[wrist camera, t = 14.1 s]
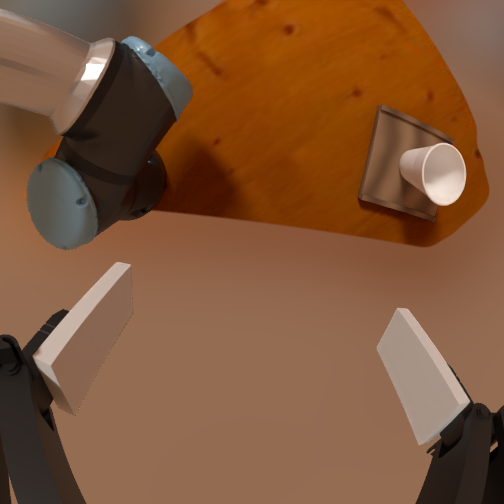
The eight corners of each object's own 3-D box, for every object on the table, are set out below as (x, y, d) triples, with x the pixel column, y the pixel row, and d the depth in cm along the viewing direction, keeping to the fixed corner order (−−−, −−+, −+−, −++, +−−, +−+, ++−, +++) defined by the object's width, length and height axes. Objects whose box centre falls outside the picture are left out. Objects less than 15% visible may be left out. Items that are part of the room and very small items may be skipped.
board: (357, 197, 46) (361, 199, 44) (377, 105, 40) (382, 104, 38) (429, 219, 47) (434, 222, 46) (448, 139, 41) (454, 139, 39)
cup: (420, 199, 45) (453, 215, 34) (382, 177, 43) (413, 189, 33) (437, 155, 41) (472, 163, 31) (400, 130, 40) (434, 130, 30)
